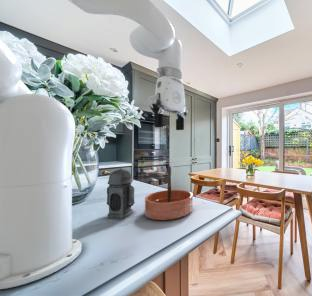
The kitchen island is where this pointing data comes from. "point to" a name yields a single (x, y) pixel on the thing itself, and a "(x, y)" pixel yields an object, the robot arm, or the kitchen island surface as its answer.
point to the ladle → (169, 185)
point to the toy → (120, 194)
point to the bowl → (168, 205)
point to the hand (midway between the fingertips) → (170, 128)
